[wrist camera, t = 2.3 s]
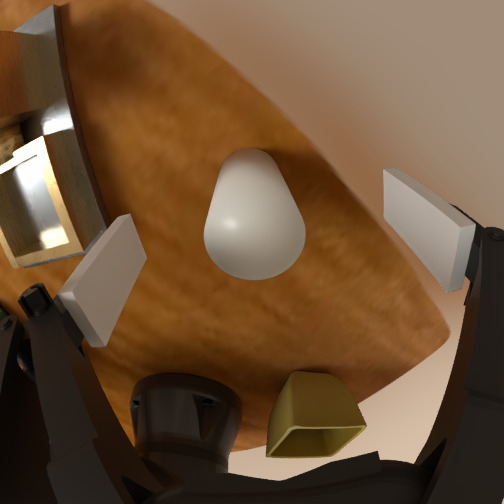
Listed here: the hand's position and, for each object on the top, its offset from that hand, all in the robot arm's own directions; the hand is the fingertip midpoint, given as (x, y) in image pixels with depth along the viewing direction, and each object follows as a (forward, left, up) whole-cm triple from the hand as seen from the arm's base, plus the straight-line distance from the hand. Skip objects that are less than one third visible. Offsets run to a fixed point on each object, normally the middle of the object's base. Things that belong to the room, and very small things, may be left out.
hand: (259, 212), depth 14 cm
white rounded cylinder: (0, 0, -8) cm, 8 cm away
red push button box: (+8, +18, -8) cm, 21 cm away
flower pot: (-26, -2, -8) cm, 28 cm away
